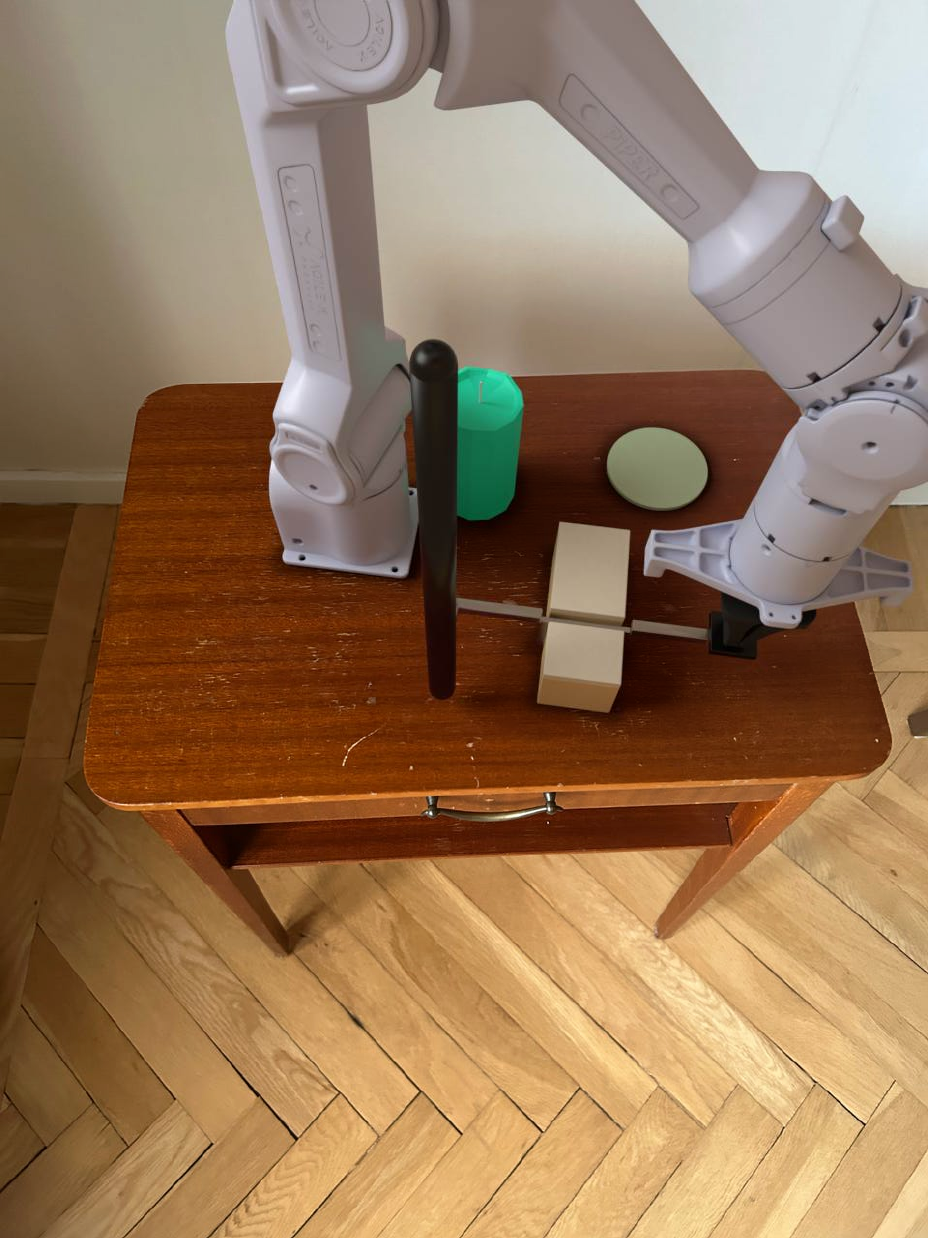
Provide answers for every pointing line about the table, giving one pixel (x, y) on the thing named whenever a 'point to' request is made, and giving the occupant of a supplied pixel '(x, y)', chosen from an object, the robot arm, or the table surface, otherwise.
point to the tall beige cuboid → (589, 574)
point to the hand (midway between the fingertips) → (734, 633)
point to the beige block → (581, 667)
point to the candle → (487, 441)
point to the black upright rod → (438, 531)
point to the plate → (657, 469)
